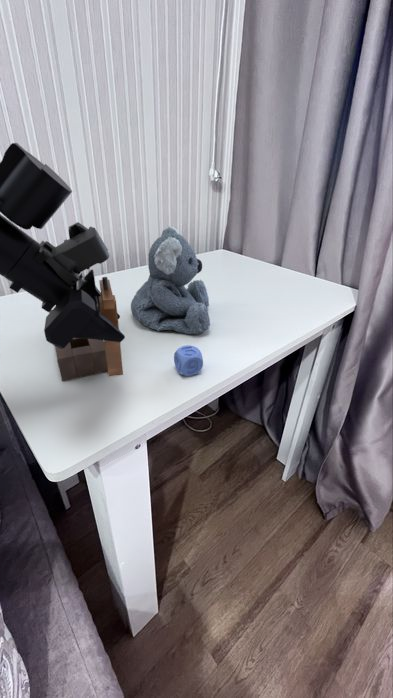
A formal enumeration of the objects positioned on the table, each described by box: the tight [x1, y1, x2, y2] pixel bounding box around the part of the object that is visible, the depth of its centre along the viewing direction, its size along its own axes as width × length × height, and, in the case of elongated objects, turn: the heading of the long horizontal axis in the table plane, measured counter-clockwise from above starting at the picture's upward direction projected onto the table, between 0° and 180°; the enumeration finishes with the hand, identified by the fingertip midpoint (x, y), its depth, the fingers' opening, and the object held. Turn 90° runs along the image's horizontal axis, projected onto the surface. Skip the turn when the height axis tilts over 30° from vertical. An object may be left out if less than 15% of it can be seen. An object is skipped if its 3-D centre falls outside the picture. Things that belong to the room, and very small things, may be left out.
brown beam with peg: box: [98, 276, 124, 378], centre depth 48 cm, size 2×7×16 cm, turn 17°
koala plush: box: [130, 226, 211, 335], centre depth 71 cm, size 17×18×20 cm
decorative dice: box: [173, 344, 204, 377], centre depth 58 cm, size 4×4×4 cm
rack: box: [48, 309, 108, 382], centre depth 63 cm, size 8×19×4 cm, turn 24°
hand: (120, 328), depth 48 cm, fingers closed on brown beam with peg, 6 cm apart
